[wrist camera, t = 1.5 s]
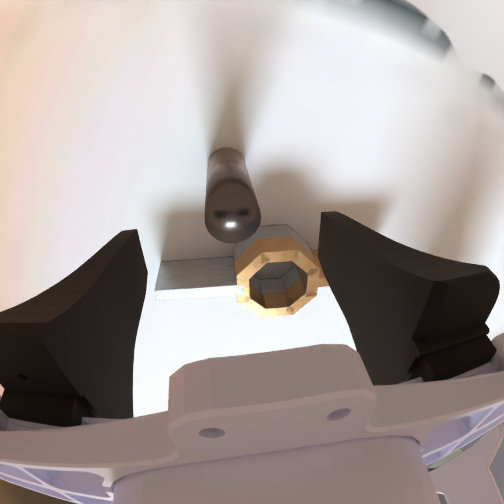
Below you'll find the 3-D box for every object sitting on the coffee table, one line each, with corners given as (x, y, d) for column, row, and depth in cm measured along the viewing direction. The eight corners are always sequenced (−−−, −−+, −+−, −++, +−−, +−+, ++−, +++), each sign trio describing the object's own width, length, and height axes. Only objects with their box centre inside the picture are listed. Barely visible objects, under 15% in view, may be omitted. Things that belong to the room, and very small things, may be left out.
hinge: (375, 219, 24) (395, 242, 21) (364, 277, 27) (379, 303, 24) (155, 233, 22) (147, 260, 19) (167, 294, 25) (163, 324, 22)
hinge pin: (243, 146, 20) (260, 190, 13) (244, 181, 21) (260, 241, 14) (206, 149, 20) (202, 194, 13) (208, 183, 21) (207, 244, 14)
